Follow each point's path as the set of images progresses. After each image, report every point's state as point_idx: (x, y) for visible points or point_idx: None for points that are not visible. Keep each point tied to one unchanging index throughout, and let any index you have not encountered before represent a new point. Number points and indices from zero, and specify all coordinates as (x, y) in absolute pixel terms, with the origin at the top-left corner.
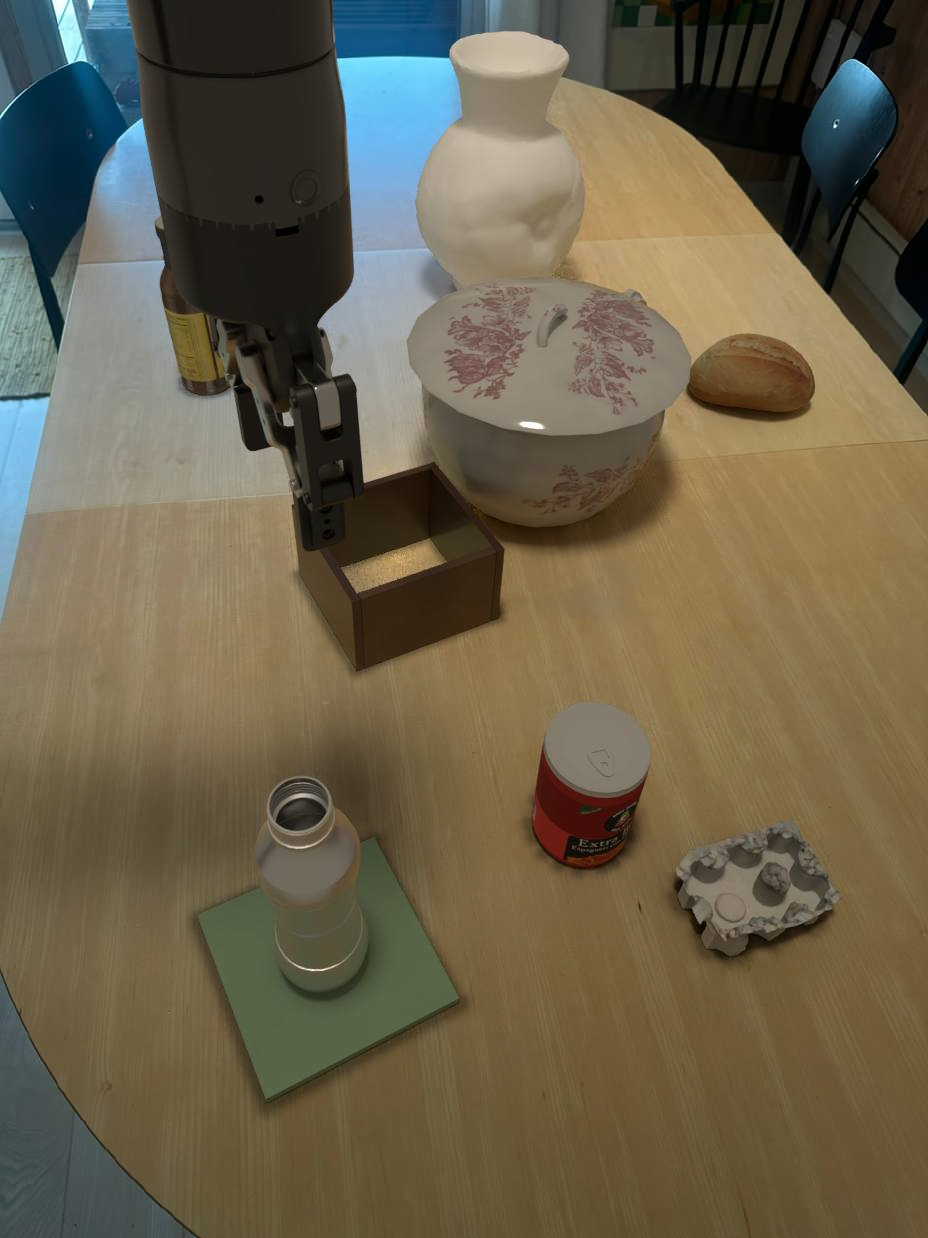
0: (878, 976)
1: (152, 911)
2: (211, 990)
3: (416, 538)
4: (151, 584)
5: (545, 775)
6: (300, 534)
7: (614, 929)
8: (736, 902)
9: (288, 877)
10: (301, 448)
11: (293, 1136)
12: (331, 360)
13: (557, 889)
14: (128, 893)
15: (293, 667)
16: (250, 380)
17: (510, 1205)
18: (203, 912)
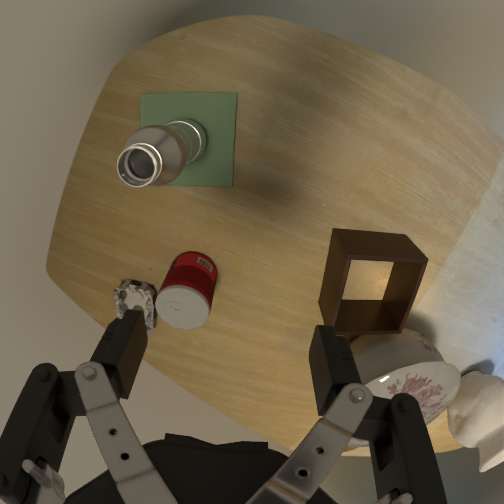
0: (102, 316)
1: (253, 75)
2: (199, 87)
3: (385, 295)
4: (444, 166)
5: (187, 279)
6: (124, 320)
7: (145, 255)
8: (137, 299)
9: (130, 141)
10: (18, 428)
11: (126, 100)
12: None
13: (170, 246)
14: (270, 69)
15: (355, 201)
16: (117, 486)
17: (76, 167)
18: (236, 96)
